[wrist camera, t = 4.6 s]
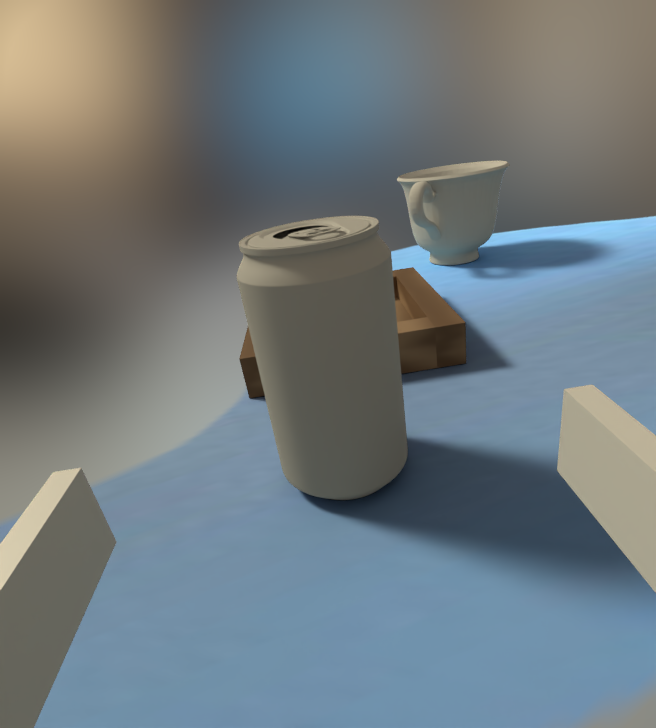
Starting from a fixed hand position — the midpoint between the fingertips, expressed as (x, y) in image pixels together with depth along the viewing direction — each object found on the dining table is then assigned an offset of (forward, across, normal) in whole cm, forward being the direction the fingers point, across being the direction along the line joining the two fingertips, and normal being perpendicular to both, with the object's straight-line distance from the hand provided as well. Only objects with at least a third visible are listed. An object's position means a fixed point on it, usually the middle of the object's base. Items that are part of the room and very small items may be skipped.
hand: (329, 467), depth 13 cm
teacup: (+43, +16, -7) cm, 47 cm away
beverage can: (+9, 0, -7) cm, 11 cm away
